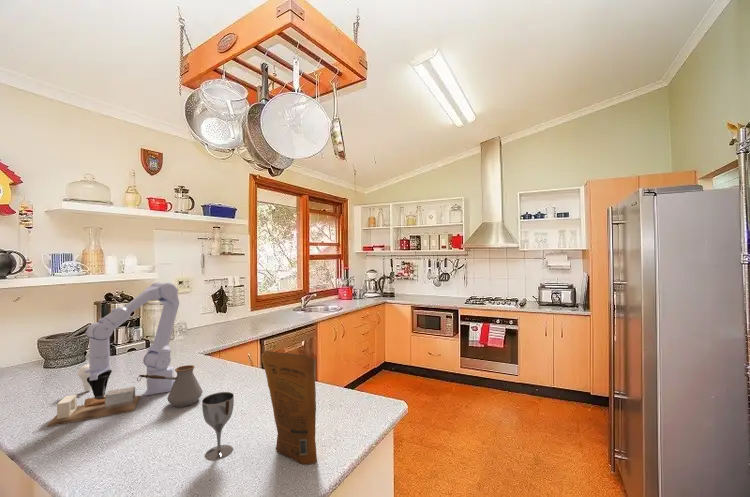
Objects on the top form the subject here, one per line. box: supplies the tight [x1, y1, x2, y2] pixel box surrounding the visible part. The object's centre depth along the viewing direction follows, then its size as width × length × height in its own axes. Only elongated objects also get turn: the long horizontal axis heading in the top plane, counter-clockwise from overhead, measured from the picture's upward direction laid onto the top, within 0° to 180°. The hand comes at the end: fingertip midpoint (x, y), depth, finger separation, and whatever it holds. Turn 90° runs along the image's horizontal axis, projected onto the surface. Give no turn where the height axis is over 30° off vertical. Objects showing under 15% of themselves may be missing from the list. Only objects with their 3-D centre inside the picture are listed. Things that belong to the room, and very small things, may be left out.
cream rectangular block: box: [56, 394, 78, 419], centre depth 115 cm, size 3×7×5 cm, turn 26°
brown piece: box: [83, 385, 106, 408], centre depth 121 cm, size 14×3×6 cm, turn 116°
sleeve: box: [105, 386, 136, 409], centre depth 122 cm, size 8×5×5 cm, turn 116°
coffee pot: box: [136, 364, 204, 408], centre depth 121 cm, size 21×12×15 cm, turn 148°
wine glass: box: [201, 391, 235, 461], centre depth 92 cm, size 8×8×15 cm
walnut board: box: [47, 394, 141, 427], centre depth 119 cm, size 23×12×1 cm, turn 116°
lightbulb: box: [77, 363, 92, 392], centre depth 137 cm, size 6×6×11 cm
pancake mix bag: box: [261, 350, 318, 466], centre depth 90 cm, size 7×19×28 cm, turn 54°
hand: (99, 394), depth 119 cm, fingers closed on brown piece, 3 cm apart
